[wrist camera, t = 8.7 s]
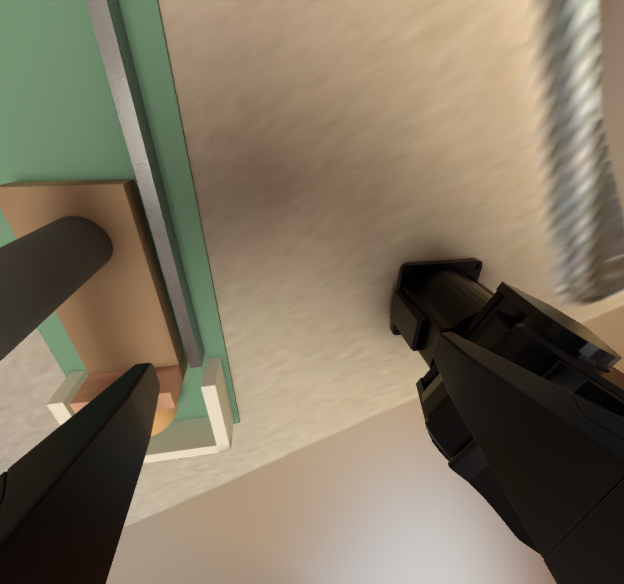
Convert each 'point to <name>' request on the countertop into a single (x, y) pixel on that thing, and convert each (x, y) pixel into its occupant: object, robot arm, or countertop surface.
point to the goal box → (179, 434)
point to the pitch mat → (100, 145)
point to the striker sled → (88, 281)
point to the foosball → (163, 419)
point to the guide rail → (145, 164)
